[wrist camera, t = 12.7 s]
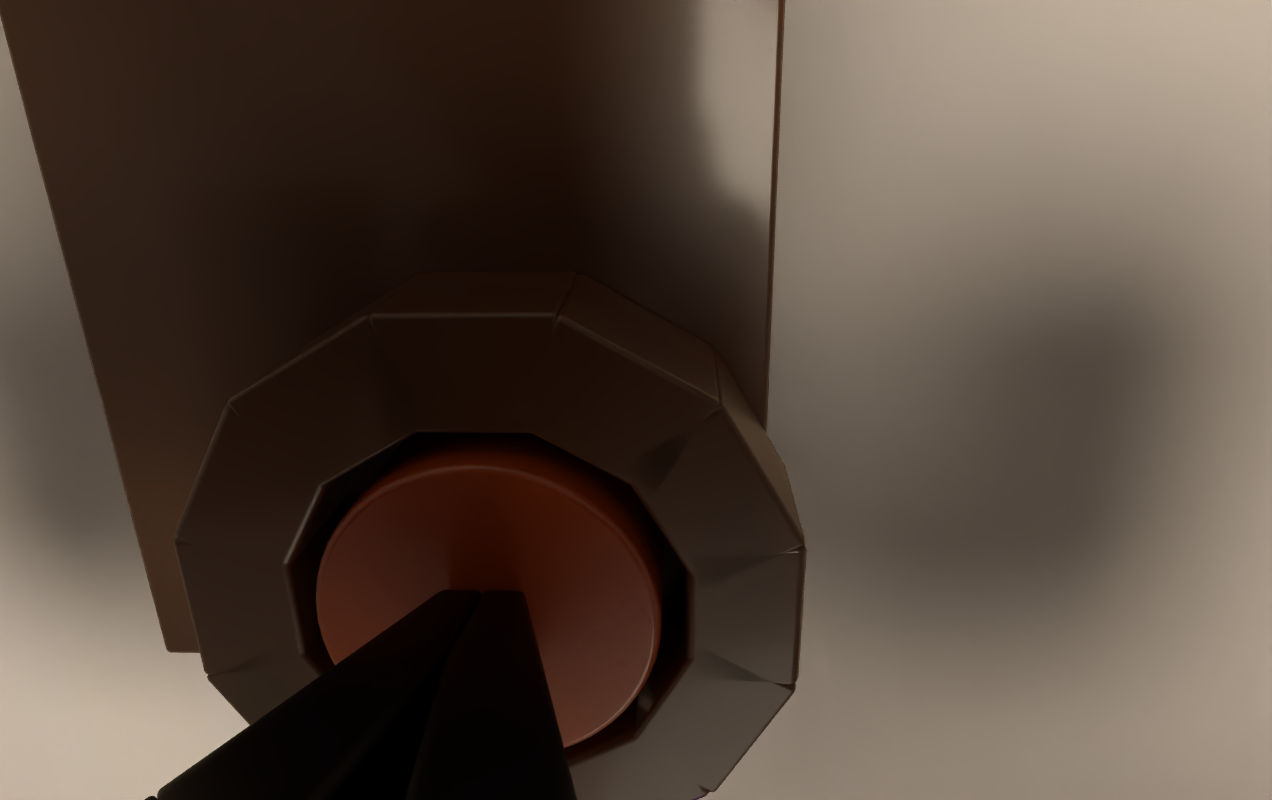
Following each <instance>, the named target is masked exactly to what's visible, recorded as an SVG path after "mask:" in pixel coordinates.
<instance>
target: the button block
mask: <svg viewBox="0 0 1272 800" xmlns="http://www.w3.org/2000/svg"><path fill="white" fill-rule="evenodd" d="M784 12H785V0H0V17H1V21H2V25H3V28H4V32H5V36H6V40H7V44H8V47H9V51H10V55H11V59H12V63H13V67H14V70H15V74H16V78H17V82H18V86H19V89H20V93H21V97H22V101H23V105H24V108H25V112H26V116H27V120H28V124H29V127H30V131H31V135H32V139H33V143H34V147H35V150H36V154H37V158H38V162H39V166H40V169H41V173H42V177H43V181H44V185H45V188H46V192H47V196H48V200H49V204H50V208H51V211H52V215H53V219H54V223H55V227H56V230H57V234H58V238H59V242H60V246H61V249H62V253H63V257H64V261H65V265H66V268H67V272H68V276H69V280H70V284H71V288H72V291H73V295H74V299H75V303H76V307H77V310H78V314H79V318H80V322H81V326H82V329H83V333H84V337H85V341H86V345H87V349H88V352H89V356H90V360H91V364H92V368H93V371H94V375H95V379H96V383H97V387H98V390H99V394H100V398H101V402H102V406H103V409H104V413H105V417H106V421H107V425H108V429H109V432H110V436H111V440H112V444H113V448H114V451H115V455H116V459H117V463H118V467H119V470H120V474H121V478H122V482H123V486H124V490H125V493H126V497H127V501H128V505H129V509H130V512H131V516H132V520H133V524H134V528H135V531H136V535H137V539H138V543H139V547H140V550H141V554H142V558H143V562H144V566H145V570H146V573H147V577H148V581H149V585H150V589H151V592H152V596H153V600H154V604H155V608H156V611H157V615H158V619H159V623H160V627H161V631H162V634H163V638H164V642H165V646H166V649H167V650H168V651H169V652H178V653H200V655H201V659H202V663H203V667H204V671H205V672H206V674H208V676H207V678H208V680H209V681H210V682H211V683H212V684H213V686H214V687H215V688H216V689H217V690H218V691H219V692H220V693H221V694H222V695H223V696H224V698H225V699H226V700H227V701H228V702H229V703H230V704H231V705H232V706H233V707H234V708H235V709H236V711H237V712H238V713H239V714H240V715H241V716H242V717H243V718H244V719H245V720H246V721H247V723H248V724H249V725H251V724H253V723H254V722H256V721H257V720H258V719H260V718H261V717H263V716H264V715H266V714H267V713H268V712H270V711H271V710H273V709H274V708H275V707H277V706H278V705H280V704H281V703H283V702H284V701H285V700H287V699H288V698H290V697H291V696H292V695H294V694H295V693H297V692H298V691H300V690H301V689H302V688H304V687H305V686H307V685H308V684H309V683H311V682H312V681H314V680H315V679H316V678H318V677H319V676H321V675H322V674H324V673H325V672H326V671H328V670H329V669H331V668H332V667H333V666H335V665H334V663H333V661H332V659H331V658H330V656H329V653H328V651H327V648H326V646H325V644H324V641H323V639H322V635H321V631H320V627H319V623H318V618H317V608H316V583H317V575H318V570H319V565H320V560H321V557H322V555H323V552H324V550H325V547H326V545H327V542H328V540H329V538H330V537H331V535H332V533H333V532H334V530H335V528H336V526H337V525H338V523H339V522H340V521H341V520H342V518H343V517H344V516H345V514H346V513H347V512H348V510H349V509H350V508H351V507H352V505H353V504H354V503H355V501H356V500H357V499H358V497H359V496H360V495H361V494H362V492H363V491H364V490H365V488H366V487H367V486H368V484H369V483H370V482H371V481H372V479H373V478H374V477H375V475H376V474H377V473H378V471H379V470H380V469H381V468H382V466H383V465H384V464H385V462H386V461H387V460H388V458H389V457H390V456H391V455H392V454H393V452H394V451H395V450H396V449H397V447H398V446H399V445H400V444H401V443H402V442H403V441H404V440H406V439H407V438H409V437H410V436H412V435H414V434H416V433H417V432H427V433H532V434H534V435H536V436H538V437H540V438H542V439H544V440H546V441H547V442H549V443H551V444H553V445H555V446H557V447H559V448H561V449H563V450H565V451H567V452H569V453H570V454H572V455H574V456H576V457H578V458H580V459H582V460H584V461H586V462H588V463H590V464H592V465H594V466H595V467H597V468H599V469H601V470H603V471H605V472H607V473H609V474H611V475H613V476H615V477H617V478H618V479H620V480H622V481H624V482H626V483H628V484H630V485H631V486H632V488H633V489H634V491H635V492H636V494H637V495H638V497H639V498H640V500H641V501H642V503H643V504H644V506H645V507H646V509H647V510H648V512H649V514H650V515H651V517H652V518H653V520H654V521H655V523H656V524H657V526H658V527H659V529H660V530H661V532H662V533H663V535H664V572H663V600H662V626H661V639H660V645H659V649H658V653H657V658H656V661H655V663H654V666H653V668H652V671H651V673H650V676H649V678H648V679H647V681H646V683H645V684H644V686H643V688H642V689H641V691H640V693H639V694H638V695H637V696H636V698H635V699H634V700H633V701H632V703H631V704H630V705H629V706H628V707H627V709H626V710H625V711H624V712H623V713H622V714H621V715H619V716H618V717H617V718H616V719H615V720H614V721H613V722H612V723H611V724H609V725H608V726H606V727H605V728H603V729H602V730H600V731H599V732H598V733H596V734H594V735H592V736H590V737H589V738H587V739H585V740H583V741H581V742H579V743H576V744H574V745H571V746H568V747H566V748H564V749H565V753H566V757H567V761H568V765H569V769H570V773H571V777H572V781H573V784H574V788H575V792H576V796H577V800H697V799H699V798H702V797H704V796H706V795H707V794H708V793H709V792H714V791H716V790H717V789H718V787H719V786H720V785H721V784H722V782H723V781H724V780H725V779H726V777H727V776H728V775H729V774H730V772H731V771H732V770H733V769H734V767H735V766H736V765H737V763H738V762H739V761H740V760H741V758H742V757H743V756H744V755H745V753H746V752H747V751H748V750H749V748H750V747H751V746H752V745H753V743H754V742H755V741H756V740H757V738H758V737H759V736H760V735H761V733H762V732H763V731H764V729H765V728H766V727H767V726H768V724H769V723H770V722H771V721H772V719H773V718H774V717H775V716H776V714H777V713H778V712H779V711H780V709H781V708H782V707H783V706H784V704H785V703H786V702H787V701H788V699H789V698H790V697H791V696H792V694H793V693H794V691H795V688H796V684H795V683H796V681H797V678H798V676H799V661H800V646H801V630H802V615H803V600H804V584H805V569H806V553H807V549H806V546H805V538H804V534H803V530H802V527H801V523H800V519H799V515H798V512H797V508H796V504H795V501H794V497H793V493H792V490H791V486H790V482H789V478H788V475H787V471H786V467H785V465H784V463H783V461H782V459H781V458H780V456H779V454H778V453H777V451H776V449H775V448H774V446H773V444H772V442H771V441H770V439H769V437H768V436H767V411H768V387H769V364H770V341H771V317H772V294H773V270H774V247H775V223H776V200H777V176H778V153H779V130H780V106H781V83H782V59H783V36H784Z"/></svg>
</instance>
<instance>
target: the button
mask: <svg viewBox="0 0 1272 800" xmlns="http://www.w3.org/2000/svg"><path fill="white" fill-rule="evenodd" d="M663 572H664V535H663V533H662V532H661V530H660V529H659V527H658V526H657V524H656V523H655V521H654V520H653V518H652V517H651V515H650V514H649V512H648V510H647V509H646V507H645V506H644V504H643V503H642V501H641V500H640V498H639V497H638V495H637V494H636V492H635V491H634V489H633V488H632V486H631V485H630V484H628V483H626V482H624V481H622V480H620V479H618V478H617V477H615V476H613V475H611V474H609V473H607V472H605V471H603V470H601V469H599V468H597V467H595V466H594V465H592V464H590V463H588V462H586V461H584V460H582V459H580V458H578V457H576V456H574V455H572V454H570V453H569V452H567V451H565V450H563V449H561V448H559V447H557V446H555V445H553V444H551V443H549V442H547V441H546V440H544V439H542V438H540V437H538V436H536V435H534V434H532V433H427V432H417V433H416V434H414V435H412V436H410V437H409V438H407V439H406V440H404V441H403V442H402V443H401V444H400V445H399V446H398V447H397V449H396V450H395V451H394V452H393V454H392V455H391V456H390V457H389V458H388V460H387V461H386V462H385V464H384V465H383V466H382V468H381V469H380V470H379V471H378V473H377V474H376V475H375V477H374V478H373V479H372V481H371V482H370V483H369V484H368V486H367V487H366V488H365V490H364V491H363V492H362V494H361V495H360V496H359V497H358V499H357V500H356V501H355V503H354V504H353V505H352V507H351V508H350V509H349V510H348V512H347V513H346V514H345V516H344V517H343V518H342V520H341V521H340V522H339V523H338V525H337V526H336V528H335V530H334V532H333V533H332V535H331V537H330V538H329V540H328V542H327V545H326V547H325V550H324V552H323V555H322V557H321V560H320V565H319V570H318V575H317V583H316V608H317V618H318V623H319V627H320V631H321V635H322V639H323V641H324V644H325V646H326V648H327V651H328V653H329V656H330V658H331V659H332V661H333V663H334V665H336V664H338V663H339V662H341V661H342V660H343V659H345V658H346V657H348V656H349V655H350V654H352V653H353V652H355V651H356V650H358V649H359V648H360V647H362V646H363V645H365V644H366V643H367V642H369V641H370V640H372V639H373V638H375V637H376V636H377V635H379V634H380V633H382V632H383V631H384V630H386V629H387V628H389V627H390V626H391V625H393V624H394V623H396V622H397V621H399V620H400V619H401V618H403V617H404V616H406V615H407V614H408V613H410V612H411V611H413V610H414V609H416V608H417V607H418V606H420V605H421V604H423V603H424V602H425V601H427V600H428V599H430V598H431V597H433V596H434V595H435V594H437V593H438V592H440V591H442V590H446V589H451V590H478V591H480V592H481V593H482V594H483V593H484V592H486V591H488V590H519V591H522V592H523V593H524V595H525V597H526V601H527V605H528V609H529V613H530V617H531V621H532V625H533V629H534V632H535V636H536V640H537V644H538V648H539V652H540V656H541V660H542V664H543V668H544V671H545V675H546V679H547V683H548V687H549V691H550V695H551V699H552V703H553V707H554V710H555V714H556V718H557V722H558V726H559V730H560V734H561V738H562V742H563V745H564V748H566V747H568V746H571V745H574V744H576V743H579V742H581V741H583V740H585V739H587V738H589V737H590V736H592V735H594V734H596V733H598V732H599V731H600V730H602V729H603V728H605V727H606V726H608V725H609V724H611V723H612V722H613V721H614V720H615V719H616V718H617V717H618V716H619V715H621V714H622V713H623V712H624V711H625V710H626V709H627V707H628V706H629V705H630V704H631V703H632V701H633V700H634V699H635V698H636V696H637V695H638V694H639V693H640V691H641V689H642V688H643V686H644V684H645V683H646V681H647V679H648V678H649V676H650V673H651V671H652V668H653V666H654V663H655V661H656V658H657V653H658V649H659V645H660V639H661V626H662V600H663Z"/></svg>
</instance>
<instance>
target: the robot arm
mask: <svg viewBox="0 0 1272 800" xmlns="http://www.w3.org/2000/svg"><path fill="white" fill-rule="evenodd" d="M145 800H577V796H576V792H575V788H574V784H573V781H572V777H571V773H570V769H569V765H568V761H567V757H566V753H565V749H564V745H563V742H562V738H561V734H560V730H559V726H558V722H557V718H556V714H555V710H554V707H553V703H552V699H551V695H550V691H549V687H548V683H547V679H546V675H545V671H544V668H543V664H542V660H541V656H540V652H539V648H538V644H537V640H536V636H535V632H534V629H533V625H532V621H531V617H530V613H529V609H528V605H527V601H526V597H525V595H524V593H523V592H522V591H519V590H488V591H486V592H484V593H483V594H482V593H481V592H480V591H478V590H451V589H446V590H442V591H440V592H438V593H437V594H435V595H434V596H433V597H431V598H430V599H428V600H427V601H425V602H424V603H423V604H421V605H420V606H418V607H417V608H416V609H414V610H413V611H411V612H410V613H408V614H407V615H406V616H404V617H403V618H401V619H400V620H399V621H397V622H396V623H394V624H393V625H391V626H390V627H389V628H387V629H386V630H384V631H383V632H382V633H380V634H379V635H377V636H376V637H375V638H373V639H372V640H370V641H369V642H367V643H366V644H365V645H363V646H362V647H360V648H359V649H358V650H356V651H355V652H353V653H352V654H350V655H349V656H348V657H346V658H345V659H343V660H342V661H341V662H339V663H338V664H336V665H335V666H333V667H332V668H331V669H329V670H328V671H326V672H325V673H324V674H322V675H321V676H319V677H318V678H316V679H315V680H314V681H312V682H311V683H309V684H308V685H307V686H305V687H304V688H302V689H301V690H300V691H298V692H297V693H295V694H294V695H292V696H291V697H290V698H288V699H287V700H285V701H284V702H283V703H281V704H280V705H278V706H277V707H275V708H274V709H273V710H271V711H270V712H268V713H267V714H266V715H264V716H263V717H261V718H260V719H258V720H257V721H256V722H254V723H253V724H251V725H250V726H249V727H247V728H246V729H244V730H243V731H242V732H240V733H239V734H237V735H236V736H234V737H233V738H232V739H230V740H229V741H227V742H226V743H225V744H223V745H222V746H220V747H219V748H217V749H216V750H215V751H213V752H212V753H210V754H209V755H208V756H206V757H205V758H203V759H202V760H200V761H199V762H198V763H196V764H195V765H193V766H192V767H191V768H189V769H188V770H186V771H185V772H183V773H182V774H181V775H179V776H178V777H176V778H175V779H174V780H172V781H171V782H169V783H168V784H166V785H165V786H164V787H162V788H161V789H160V790H159V791H158V794H157V798H156V797H154V796H150V797H148V798H146V799H145Z"/></svg>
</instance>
